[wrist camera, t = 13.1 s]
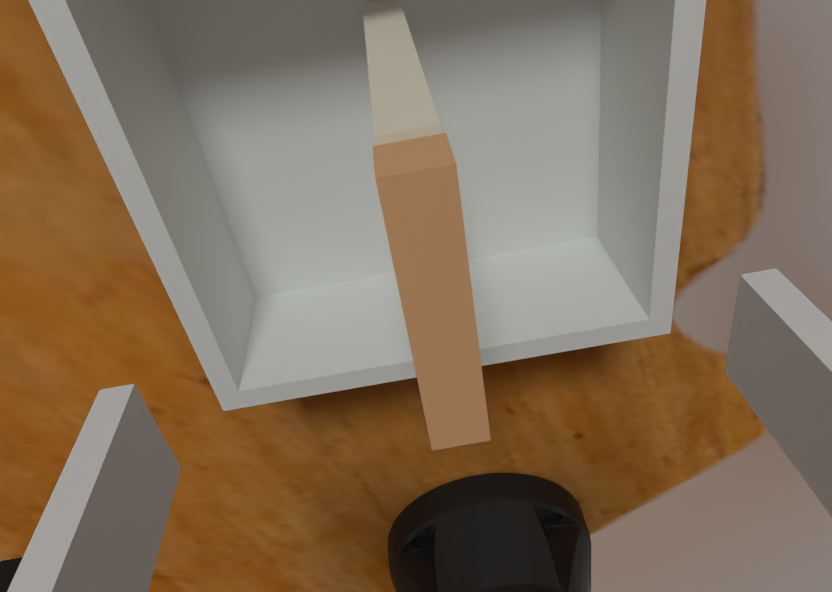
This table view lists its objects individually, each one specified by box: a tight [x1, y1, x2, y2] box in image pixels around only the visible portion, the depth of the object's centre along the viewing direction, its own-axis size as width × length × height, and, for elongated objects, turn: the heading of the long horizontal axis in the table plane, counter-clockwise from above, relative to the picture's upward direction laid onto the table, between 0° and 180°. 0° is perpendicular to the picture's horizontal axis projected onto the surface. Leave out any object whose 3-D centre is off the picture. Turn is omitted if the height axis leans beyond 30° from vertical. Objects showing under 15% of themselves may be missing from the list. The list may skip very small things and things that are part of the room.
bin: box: [29, 0, 706, 411], centre depth 26 cm, size 20×20×8 cm
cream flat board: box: [362, 0, 491, 450], centre depth 21 cm, size 8×2×16 cm, turn 9°
